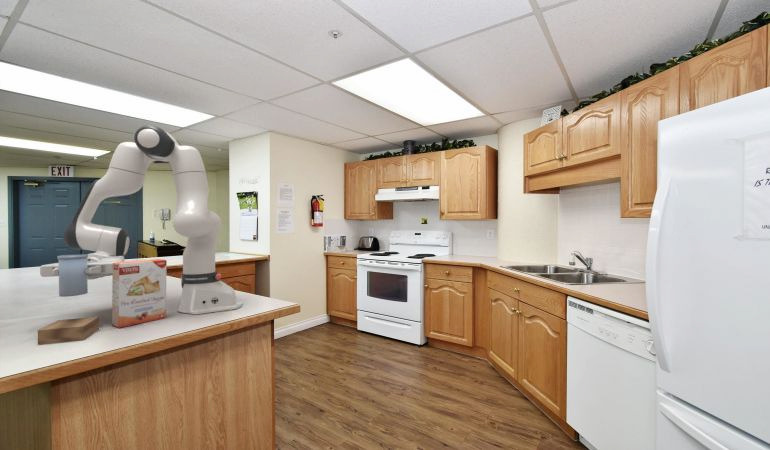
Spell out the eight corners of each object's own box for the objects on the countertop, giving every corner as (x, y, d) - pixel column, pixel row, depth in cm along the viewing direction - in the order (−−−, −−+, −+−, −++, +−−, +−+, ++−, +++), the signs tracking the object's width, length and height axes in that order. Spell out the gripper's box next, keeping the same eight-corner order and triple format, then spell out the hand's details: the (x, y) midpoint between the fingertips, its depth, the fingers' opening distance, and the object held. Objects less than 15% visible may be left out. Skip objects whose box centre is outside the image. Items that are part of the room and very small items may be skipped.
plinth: (99, 329, 103) (99, 316, 103) (83, 340, 94) (83, 326, 94) (58, 333, 100) (57, 320, 100) (37, 344, 90) (37, 330, 90)
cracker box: (119, 328, 104) (118, 263, 104) (111, 325, 107) (111, 262, 107) (167, 318, 116) (167, 259, 116) (159, 315, 119) (158, 258, 119)
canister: (92, 291, 105) (92, 253, 105) (82, 295, 98) (81, 255, 98) (65, 292, 102) (65, 254, 102) (52, 297, 96) (52, 256, 96)
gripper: (54, 258, 109) (26, 263, 96) (128, 255, 116) (112, 260, 103) (54, 277, 109) (26, 284, 96) (129, 273, 116) (112, 280, 103)
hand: (71, 271), depth 100 cm, fingers closed on canister, 6 cm apart
